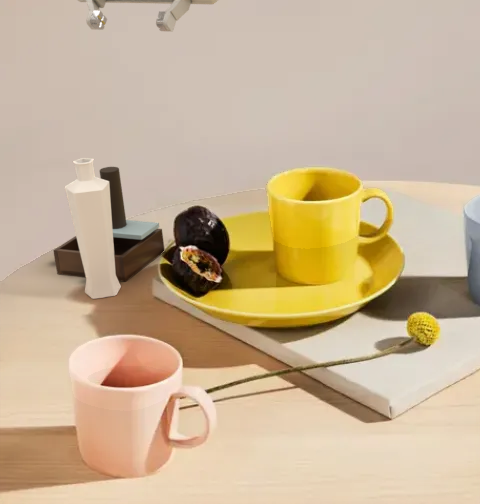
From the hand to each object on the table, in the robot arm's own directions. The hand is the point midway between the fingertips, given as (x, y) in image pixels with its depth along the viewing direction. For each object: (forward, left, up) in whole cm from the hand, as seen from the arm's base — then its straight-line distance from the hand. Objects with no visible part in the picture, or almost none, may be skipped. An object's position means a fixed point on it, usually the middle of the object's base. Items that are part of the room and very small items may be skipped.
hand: (128, 27), depth 113 cm
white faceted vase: (+5, -20, -26) cm, 33 cm away
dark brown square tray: (+1, -12, -25) cm, 28 cm away
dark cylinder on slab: (+2, -10, -22) cm, 24 cm away
